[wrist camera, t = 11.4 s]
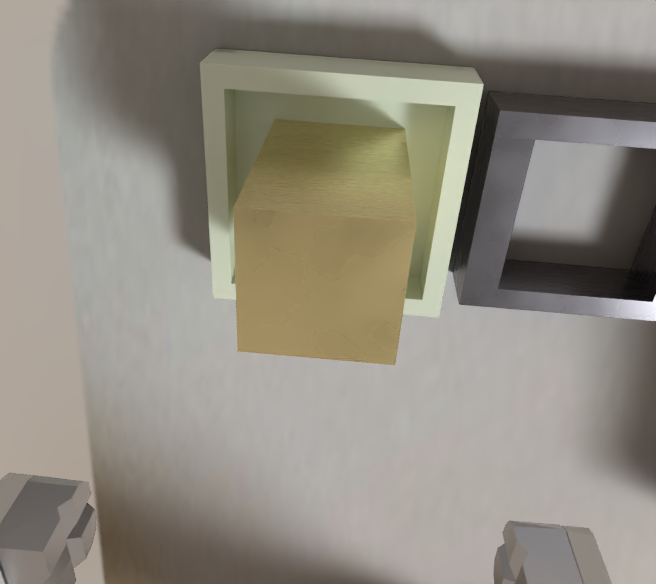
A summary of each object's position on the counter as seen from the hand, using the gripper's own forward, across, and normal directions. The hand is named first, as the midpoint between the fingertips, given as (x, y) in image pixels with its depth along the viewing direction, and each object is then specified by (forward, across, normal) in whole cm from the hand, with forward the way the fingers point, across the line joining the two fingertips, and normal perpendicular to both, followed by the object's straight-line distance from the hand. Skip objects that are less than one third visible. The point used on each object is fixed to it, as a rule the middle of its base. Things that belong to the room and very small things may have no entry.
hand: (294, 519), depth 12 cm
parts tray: (+16, 0, +1) cm, 16 cm away
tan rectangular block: (+15, 0, +1) cm, 15 cm away
